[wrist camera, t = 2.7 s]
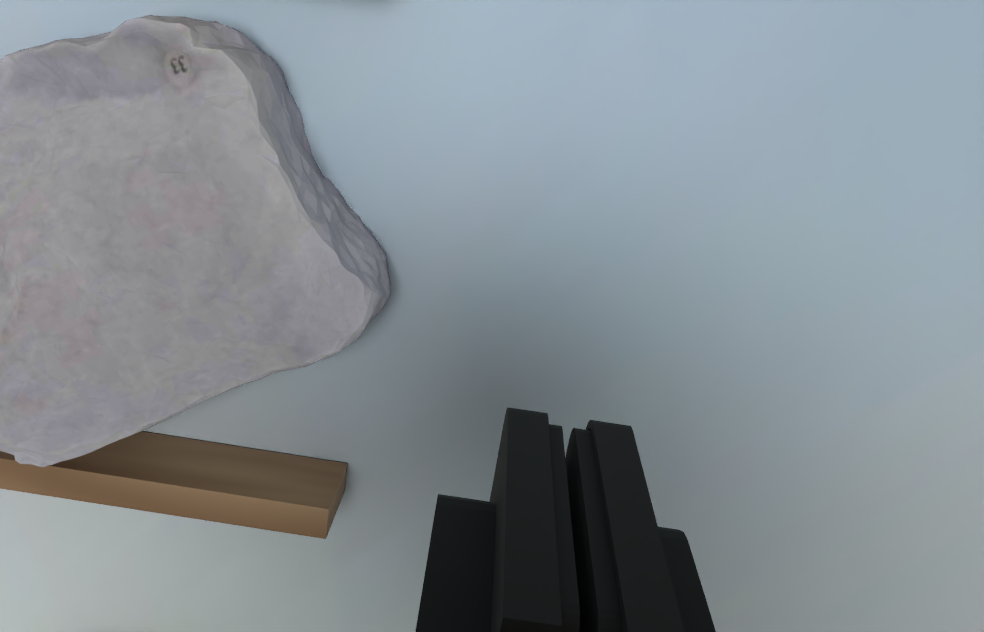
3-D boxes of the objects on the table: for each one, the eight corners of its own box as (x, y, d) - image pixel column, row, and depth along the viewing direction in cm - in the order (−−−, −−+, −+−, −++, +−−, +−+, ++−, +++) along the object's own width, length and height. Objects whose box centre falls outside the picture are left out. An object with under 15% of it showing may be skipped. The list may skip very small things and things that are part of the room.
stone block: (-73, 154, 24) (76, 452, 26) (-225, 145, 20) (-35, 512, 21) (275, -18, 23) (419, 309, 24) (200, -72, 18) (383, 338, 19)
